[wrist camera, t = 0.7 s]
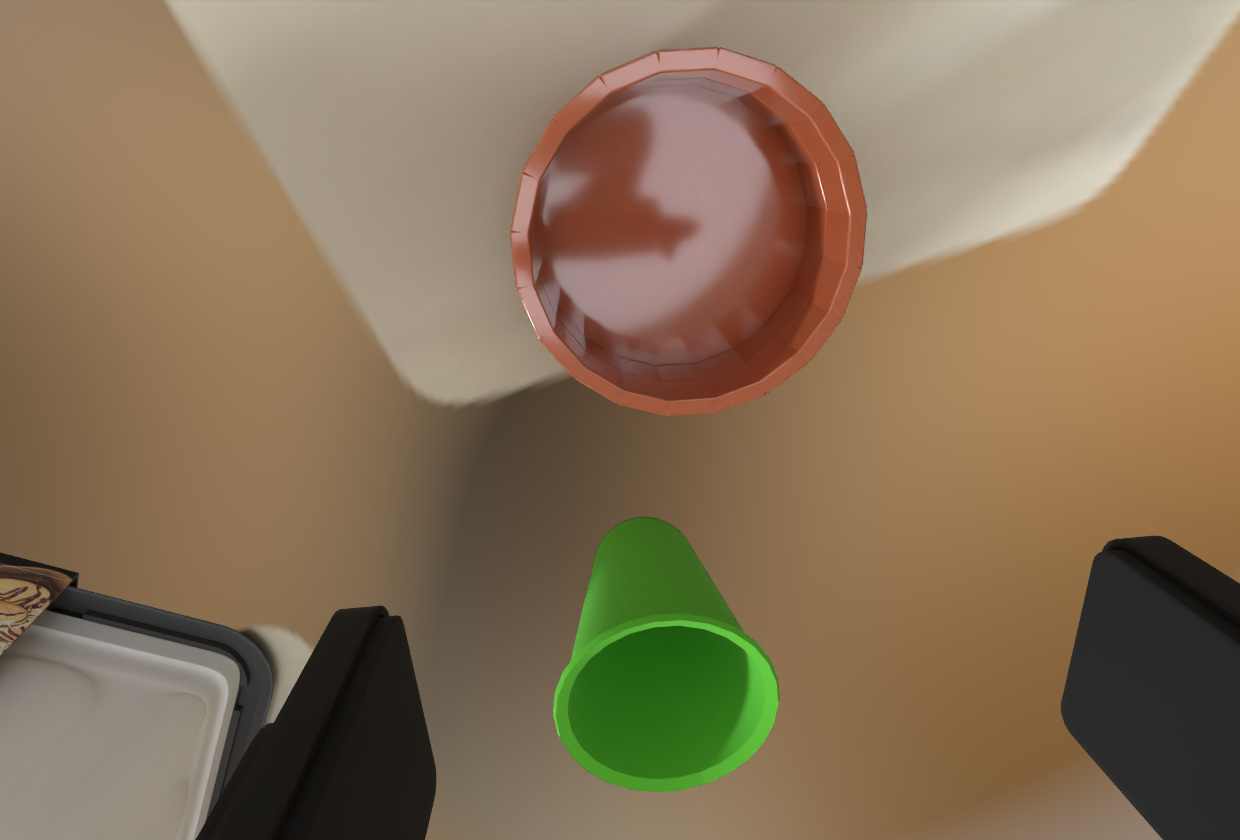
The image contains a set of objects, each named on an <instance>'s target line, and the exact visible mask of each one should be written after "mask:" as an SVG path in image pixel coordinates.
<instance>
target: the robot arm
mask: <svg viewBox="0 0 1240 840" xmlns="http://www.w3.org/2000/svg"><path fill="white" fill-rule="evenodd" d="M1061 713H1062V717H1063V720H1064V723H1065V725H1066V727H1067V729H1068V730H1069V732H1070V733H1071V734H1072V736H1073V737H1074V738H1075V739H1076V740H1077V742H1078V743H1079V744H1080V745H1081V746H1082V748H1083V749H1084V750H1085V751H1086V752H1087V753H1088V754H1089V756H1090V757H1091V758H1092V759H1093V760H1094V761H1095V762H1096V764H1097V765H1098V766H1099V767H1100V768H1101V769H1102V770H1103V772H1104V773H1105V774H1106V775H1107V776H1108V777H1109V778H1110V780H1111V781H1112V782H1113V783H1114V784H1115V785H1116V786H1117V787H1118V789H1119V790H1120V791H1121V792H1122V793H1123V794H1124V796H1125V797H1126V798H1127V799H1128V800H1129V801H1130V803H1131V804H1132V805H1133V806H1134V807H1135V808H1136V809H1137V811H1138V812H1139V813H1140V814H1141V815H1142V816H1143V817H1144V819H1145V820H1146V821H1147V822H1148V823H1149V824H1150V825H1151V827H1152V828H1153V829H1154V830H1155V831H1156V832H1157V833H1158V835H1159V836H1160V837H1161V838H1162V839H1163V840H1240V584H1239V583H1238V582H1236V581H1235V580H1233V579H1231V578H1230V577H1228V576H1227V575H1225V574H1223V573H1222V572H1220V571H1219V570H1217V569H1216V568H1214V567H1212V566H1211V565H1209V564H1208V563H1206V562H1204V561H1203V560H1201V559H1200V558H1198V557H1196V556H1195V555H1193V554H1191V553H1190V552H1188V551H1187V550H1185V549H1184V548H1182V547H1180V546H1179V545H1177V544H1176V543H1174V542H1172V541H1171V540H1169V539H1167V538H1164V537H1162V536H1146V537H1134V538H1123V539H1115V540H1112V541H1109V542H1108V543H1107V544H1106V545H1105V546H1104V548H1103V550H1102V552H1100V553H1098V554H1097V555H1096V556H1095V558H1094V560H1093V564H1092V568H1091V572H1090V577H1089V581H1088V586H1087V590H1086V595H1085V599H1084V604H1083V608H1082V613H1081V617H1080V622H1079V626H1078V630H1077V635H1076V640H1075V644H1074V648H1073V653H1072V657H1071V662H1070V666H1069V671H1068V675H1067V680H1066V684H1065V689H1064V693H1063V698H1062V702H1061ZM435 791H436V768H435V762H434V758H433V754H432V749H431V744H430V740H429V735H428V731H427V726H426V722H425V717H424V713H423V709H422V704H421V700H420V695H419V690H418V686H417V682H416V677H415V673H414V668H413V664H412V659H411V655H410V650H409V646H408V641H407V637H406V632H405V628H404V624H403V621H402V619H401V617H400V616H389V613H388V611H387V610H386V608H385V607H383V606H373V607H362V608H349V609H340V610H338V611H336V612H335V614H334V615H333V617H332V618H331V620H330V622H329V624H328V625H327V627H326V629H325V631H324V633H323V635H322V636H321V638H320V640H319V642H318V644H317V645H316V647H315V649H314V651H313V653H312V654H311V656H310V658H309V660H308V662H307V664H306V665H305V667H304V669H303V671H302V673H301V674H300V676H299V678H298V680H297V682H296V684H295V685H294V687H293V689H292V691H291V693H290V694H289V696H288V698H287V700H286V702H285V703H284V705H283V707H282V709H281V711H280V713H279V714H278V716H277V718H276V720H275V722H274V723H269V724H267V725H266V726H264V727H263V728H262V729H260V731H259V732H258V733H257V735H256V736H255V737H254V739H253V740H252V742H251V743H250V745H249V747H248V749H247V750H246V752H245V754H244V756H243V757H242V759H241V761H240V763H239V764H238V766H237V768H236V770H235V771H234V773H233V775H232V777H231V778H230V780H229V782H228V784H227V785H226V787H225V789H224V791H223V792H222V794H221V796H220V798H219V799H218V801H217V803H216V805H215V806H214V808H213V810H212V812H211V813H210V815H209V817H208V819H207V820H206V822H205V824H204V826H203V827H202V829H201V831H200V833H199V834H198V836H197V838H196V839H195V840H425V837H426V833H427V829H428V824H429V820H430V815H431V811H432V807H433V802H434V798H435Z"/></svg>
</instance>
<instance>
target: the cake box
mask: <svg viewBox="0 0 1240 840" xmlns="http://www.w3.org/2000/svg"><path fill="white" fill-rule="evenodd" d="M78 576H79V573H77V572H72V571H68V570H65V569H61V568H57V567H53V566H50V565H46V564H42V563H38V562H34V561H30V560H27V559H23V558H19V557H15V556H11V555H7V554H3V553H0V840H195V839H196V838H197V836H198V834H199V833H200V831H201V829H202V827H203V826H204V824H205V822H206V820H207V819H208V817H209V815H210V813H211V812H212V810H213V808H214V806H215V805H216V803H217V801H218V799H219V798H220V796H221V794H222V792H223V791H224V789H225V787H226V785H227V784H228V782H229V780H230V778H231V777H232V775H233V773H234V771H235V770H236V768H237V766H238V764H239V763H240V761H241V759H242V757H243V756H244V754H245V752H246V750H247V749H248V747H249V745H250V743H251V742H252V740H253V739H254V737H255V736H256V735H257V733H258V732H259V731H260V729H262V728H263V725H264V722H265V718H266V714H267V710H268V707H269V703H270V699H271V696H272V691H273V674H272V671H271V667H270V665H269V663H268V660H267V658H266V657H265V655H264V654H263V652H262V651H261V650H260V649H259V647H258V646H257V645H256V644H255V643H253V642H252V641H251V640H250V639H249V638H247V637H246V636H245V635H243V634H241V633H239V632H238V631H236V630H234V629H231V628H229V627H226V626H223V625H219V624H215V623H212V622H208V621H204V620H200V619H196V618H192V617H188V616H184V615H180V614H176V613H173V612H169V611H165V610H161V609H157V608H153V607H149V606H145V605H141V604H137V603H133V602H130V601H125V600H122V599H117V598H114V597H110V596H106V595H102V594H98V593H94V592H90V591H87V590H83V589H78V588H77V585H78Z"/></svg>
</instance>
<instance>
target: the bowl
mask: <svg viewBox="0 0 1240 840" xmlns="http://www.w3.org/2000/svg"><path fill="white" fill-rule="evenodd" d="M553 118H554V119H551V121H550V123H549V124H548V126H547V128H546V130H545V131H544V133H543V135H542V137H541V139H540V140H539V142H538V144H537V146H536V148H535V149H534V151H533V153H532V155H531V156H530V158H529V160H528V162H527V164H526V165H525V167H524V169H523V173H522V174H521V178H520V183H519V188H518V193H517V198H516V203H515V208H514V213H513V218H512V223H511V228H510V230H511V232H510V237H511V246H512V255H513V264H514V273H515V282H516V288H517V292H518V294H519V296H520V299H521V301H522V303H523V305H524V308H525V310H526V312H527V314H528V316H529V319H530V321H531V323H532V325H533V328H534V330H535V332H536V334H537V337H538V338H539V339H540V341H541V342H542V343H543V345H544V346H545V347H546V348H547V349H548V350H549V351H550V352H551V354H552V355H553V356H554V357H555V358H556V359H557V360H558V361H559V362H560V364H561V365H562V366H563V367H564V368H565V369H566V370H567V371H568V373H569V374H570V375H571V376H572V377H575V379H576V380H577V381H579V382H581V383H582V384H584V385H586V386H588V387H589V388H591V389H592V390H594V391H596V392H598V393H599V394H601V395H603V396H604V397H606V398H608V399H609V400H611V401H613V402H615V403H616V404H619V405H622V406H626V407H630V408H635V409H639V410H643V411H647V412H652V413H656V414H661V415H665V416H676V415H691V414H705V413H717V412H721V411H724V410H726V409H729V408H731V407H734V406H737V405H740V404H742V403H745V402H748V401H750V400H753V399H756V398H758V397H761V396H763V395H765V394H766V393H769V392H770V391H771V390H772V389H774V388H775V387H777V386H778V385H779V384H781V383H782V382H783V381H785V380H786V379H787V378H789V377H790V376H791V375H793V374H794V373H795V372H797V371H798V370H800V369H801V368H802V367H804V366H805V365H806V364H807V363H808V362H810V361H811V359H812V358H813V357H814V356H815V354H816V353H817V352H818V350H819V349H820V348H821V346H822V345H823V344H824V342H825V341H826V340H827V339H828V337H829V336H830V335H831V333H832V332H833V331H834V329H835V328H836V327H837V326H838V324H839V323H840V322H841V318H842V317H843V315H844V313H845V310H846V307H847V305H848V302H849V300H850V297H851V295H852V292H853V290H854V287H855V285H856V282H857V279H858V277H859V274H860V272H861V269H862V268H861V267H862V265H863V253H864V241H865V229H866V217H867V211H866V210H867V207H866V203H865V198H864V194H863V189H862V185H861V181H860V176H859V172H858V167H857V163H856V158H855V155H854V154H853V153H854V152H853V150H852V148H851V147H850V145H849V143H848V142H847V140H846V139H845V137H844V135H843V134H842V132H841V130H840V129H839V127H838V125H837V124H836V122H835V121H834V119H833V117H832V116H831V114H830V112H829V111H828V109H827V107H826V106H825V104H822V101H821V100H819V99H818V98H817V97H816V96H814V95H813V94H812V93H811V92H809V91H808V90H807V89H806V88H804V87H803V86H802V85H801V84H799V83H798V82H797V81H796V80H794V79H793V78H792V77H791V76H789V75H788V74H787V73H786V72H784V71H783V70H782V69H780V68H779V67H776V65H774V64H771V63H768V62H765V61H762V60H759V59H755V58H752V57H749V56H746V55H743V54H740V53H737V52H734V51H731V50H728V49H724V48H721V47H720V48H718V47H707V48H687V49H667V50H658V51H654V52H651V53H649V54H647V55H644V56H642V57H640V58H637V59H635V60H633V61H630V62H628V63H626V64H623V65H621V66H619V67H616V68H614V69H611V70H609V71H607V72H604V73H602V74H601V75H600V76H597V77H596V78H595V79H594V80H593V81H592V82H591V83H590V84H588V85H587V86H586V87H585V88H584V89H583V90H582V91H581V92H580V93H579V94H577V95H576V96H575V97H574V98H573V99H572V100H571V101H570V102H569V103H568V104H566V105H565V106H564V107H563V108H562V109H561V110H560V111H559V112H558V113H557V114H555V115H554V117H553Z"/></svg>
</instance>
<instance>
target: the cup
mask: <svg viewBox="0 0 1240 840" xmlns="http://www.w3.org/2000/svg"><path fill="white" fill-rule="evenodd" d="M779 699H780V698H779V685H778V677H777V674H776V672H775V670H774V667H773V665H772V662H771V660H770V658H769V657H768V656H767V654H766V653H765V652H764V651H763V649H762V648H761V647H760V646H759V645H758V644H757V642H756V641H755V640H754V639H752V638H751V637H749V636H748V635H746V634H745V633H744V631H743V630H742V628H741V627H740V625H739V623H738V622H737V620H736V618H735V617H734V615H733V613H732V612H731V610H730V609H729V607H728V605H727V604H726V602H725V601H724V599H723V597H722V596H721V594H720V592H719V591H718V589H717V587H716V586H715V584H714V583H713V581H712V579H711V578H710V576H709V575H708V573H707V571H706V570H705V568H704V566H703V565H702V563H701V562H700V560H699V558H698V557H697V555H696V553H695V552H694V550H693V549H692V547H691V545H690V544H689V542H688V540H687V539H686V538H685V536H684V535H683V534H682V533H681V531H680V530H678V529H677V528H675V527H674V526H673V525H671V524H669V523H667V522H665V521H662V520H660V519H657V518H650V517H638V518H633V519H629V520H626V521H624V522H622V523H620V524H618V525H617V526H615V527H614V528H613V529H612V530H610V531H609V532H608V533H607V534H606V535H605V537H604V538H603V539H602V541H601V542H600V544H599V546H598V549H597V551H596V554H595V559H594V563H593V567H592V571H591V576H590V580H589V584H588V588H587V593H586V597H585V601H584V606H583V610H582V614H581V618H580V623H579V627H578V632H577V636H576V640H575V644H574V648H573V653H572V657H571V662H570V663H569V664H568V666H567V667H566V668H565V670H564V671H563V673H562V675H561V678H560V681H559V683H558V686H557V688H556V691H555V695H554V710H553V716H554V720H555V724H556V728H557V732H558V735H559V737H560V739H561V740H562V742H563V743H564V745H565V747H566V748H567V750H568V752H569V753H570V755H571V756H572V758H574V759H575V760H576V761H577V762H578V763H579V764H580V765H581V766H582V767H583V768H584V769H585V770H587V771H588V772H590V773H591V774H593V775H595V776H597V777H599V778H600V779H602V780H604V781H606V782H607V783H611V784H614V785H617V786H620V787H624V788H627V789H630V790H640V791H649V792H664V791H678V790H684V789H688V788H691V787H696V786H700V785H704V784H707V783H709V782H711V781H713V780H716V779H718V778H720V777H722V776H724V775H727V774H729V773H730V772H731V771H733V770H734V769H735V768H737V767H738V766H740V765H741V764H743V763H744V762H746V761H747V760H748V759H749V758H750V757H751V756H752V755H753V754H754V753H755V752H756V750H757V749H758V748H759V747H760V746H761V745H762V744H763V742H764V741H765V739H766V737H767V735H768V734H769V732H770V730H771V728H772V726H773V724H774V721H775V716H776V712H777V707H778V703H779Z"/></svg>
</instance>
